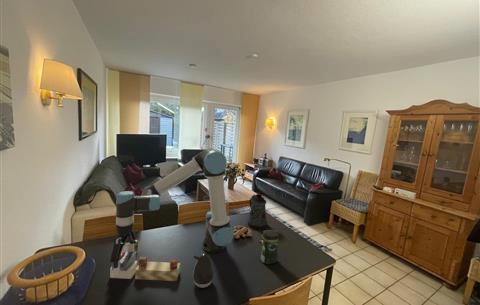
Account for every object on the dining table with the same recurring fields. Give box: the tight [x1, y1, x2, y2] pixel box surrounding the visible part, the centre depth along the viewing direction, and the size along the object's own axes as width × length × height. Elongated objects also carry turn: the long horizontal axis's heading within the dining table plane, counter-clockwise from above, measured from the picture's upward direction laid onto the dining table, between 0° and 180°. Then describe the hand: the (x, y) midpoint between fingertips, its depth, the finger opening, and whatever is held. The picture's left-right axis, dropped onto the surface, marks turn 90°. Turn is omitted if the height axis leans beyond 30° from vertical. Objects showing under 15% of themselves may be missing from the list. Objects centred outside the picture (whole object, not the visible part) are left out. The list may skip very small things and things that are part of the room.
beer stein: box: [246, 193, 268, 230], centre depth 169 cm, size 16×19×25 cm
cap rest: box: [109, 260, 138, 280], centre depth 103 cm, size 10×6×5 cm, turn 92°
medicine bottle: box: [122, 239, 139, 254], centre depth 119 cm, size 7×7×12 cm
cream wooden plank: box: [134, 256, 181, 282], centre depth 104 cm, size 20×6×9 cm, turn 92°
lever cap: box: [111, 251, 137, 271], centre depth 103 cm, size 7×9×5 cm
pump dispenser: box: [192, 252, 215, 289], centre depth 100 cm, size 10×10×15 cm
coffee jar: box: [260, 229, 280, 265], centre depth 122 cm, size 10×8×19 cm
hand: (124, 263), depth 103 cm, fingers open, 13 cm apart
